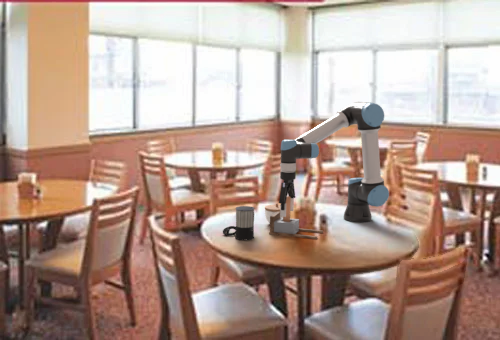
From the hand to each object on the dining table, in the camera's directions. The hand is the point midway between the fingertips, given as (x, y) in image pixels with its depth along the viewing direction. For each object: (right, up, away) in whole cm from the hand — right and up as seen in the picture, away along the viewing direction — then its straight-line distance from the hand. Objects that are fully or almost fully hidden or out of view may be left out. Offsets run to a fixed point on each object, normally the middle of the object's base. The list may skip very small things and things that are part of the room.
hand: (286, 213), depth 302 cm
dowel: (0, -7, +1) cm, 8 cm away
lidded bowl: (-4, -7, +19) cm, 21 cm away
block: (0, -9, +1) cm, 10 cm away
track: (+5, -10, 0) cm, 11 cm away
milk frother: (-24, -11, -7) cm, 27 cm away
